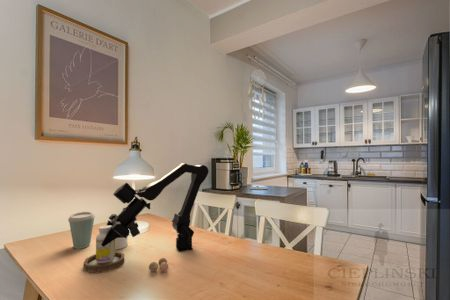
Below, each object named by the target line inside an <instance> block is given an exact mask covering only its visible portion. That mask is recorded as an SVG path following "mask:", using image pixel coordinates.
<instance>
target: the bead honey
mask: <svg viewBox="0 0 450 300" xmlns="http://www.w3.org/2000/svg"><path fill="white" fill-rule="evenodd" d="M163 262H166V263H167V264H168V260H167V258H165V257H161V258H160V259H159V260H158V262H157V264H158V267H159V266H160V264H161V263H163Z"/></svg>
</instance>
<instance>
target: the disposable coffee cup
mask: <svg viewBox="0 0 450 300" xmlns="http://www.w3.org/2000/svg"><path fill="white" fill-rule="evenodd" d="M67 220H68V223H69V227H70V232H71V233H70V235H71V239H72V246H73V248H74V249H79V250H80V249H85V248H87V247H89V246H90V245H91V242H92V235H93V228H94V222H95V221H94V220H95V214H94V213H93V212H92V211H79V212H75V213H72V214H70V215H69V217H68V219H67Z"/></svg>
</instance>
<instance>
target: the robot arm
mask: <svg viewBox="0 0 450 300" xmlns="http://www.w3.org/2000/svg"><path fill="white" fill-rule="evenodd" d="M209 170H210V169H208V167H207V166H206V165H204V164H195V165H192V164H187V163H183V162H182V163H180V164H178V166H177V167H175V168H174V169H172V170H171V171H170V172H168V173H167V174H165V175H163V176H162V177H161V178H160V179H158V180H156V181H153V182H150V183H149V184H146V185H145V186H143V187H142V188H140V189H134V188H133V187H132V186H131V184H129V183H128V182H126V181H125V183H124V184H122V185H121V186H120V187H118V188H116V190H115V191H114V192H113V194H112V195H113V196H114V197H115V198H117V200H119V201H120V202H121V203H122V204H128V205H127V206H126V207H123V208H122V210H121V212H120V213H119V214H118V215H117V214H116V213H114V214H113V213H112V214H111V215H110V216H109V217H108V220H107V223H106V225H105V226H107V225H111V226H112V227H110V229H109V231H108V233H107V235H106V237H105V238H104V240H103V242H102V244H101V245H102V246H103V247H104V246H105V245H107V244H108V243H110V242H111V241H113V240H114V239H116V238H123V237H124V238H127V239H128V237H129V236H130V235H131V236H132V238H135V237H136V236H138V235H140V234H141V232H140V230H139V223H138V222H137V216H138V215H139V214H140V213H142V211H143V210H144V209H145V208H147V210H151V202H150V201H154V200H155V199H157V198H158V197H159V195H160V194H161V193H162V192H163V190H164V189H165V188H167V187H168V186H169V185H170V184H172V183H174V182H175V181H176V180H177V179H179V178H180V177H181V176H183V175H184V174H186V173H188V174H190V178H191V179H190V184H189V187H188V190H187V192H186V195H185V198H184V200H183V203H182V207H181V208H180V211H179V212H178V213H176V212H175V213H174V214H173V215H174V216H173V219H172V220H171V222H172V228H173V229H174V230H175V231H176V233H177V234H176V235H177V236H176V238H175V248H176V249H177V251H178V252H185V251H193V250H194V248H193V237H194V234H195V232H194V230H193V229H192V228H191V227H190V224H191V212H192V210H193V207H194V205H195V201H196V198H197V196H198V193H199V191H200V188H201V186H202V184H203V183H204V181H205V180H206V179H207V177H208V175H209V172H210V171H209ZM136 195H137V196H138V197H139V198H138V197H137V196H136ZM146 200H147V201H146ZM109 220H111V221H109Z"/></svg>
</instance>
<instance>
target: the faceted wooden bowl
mask: <svg viewBox="0 0 450 300" xmlns="http://www.w3.org/2000/svg"><path fill="white" fill-rule="evenodd" d="M124 263H125V254H124V253H123V252H121V251H116V250H115V259H114V260H113V261H110V262H108V263H97V262H96V253H95V254H93V255H90V256H89V257H86V258H85V260H84V261H83V267H82V268H83V271H85V272H86V273H91V274H98V273H99V274H100V273H107V272H110V271H113V270H116V269H118V268H120V267H122V266H123V265H124Z"/></svg>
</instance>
